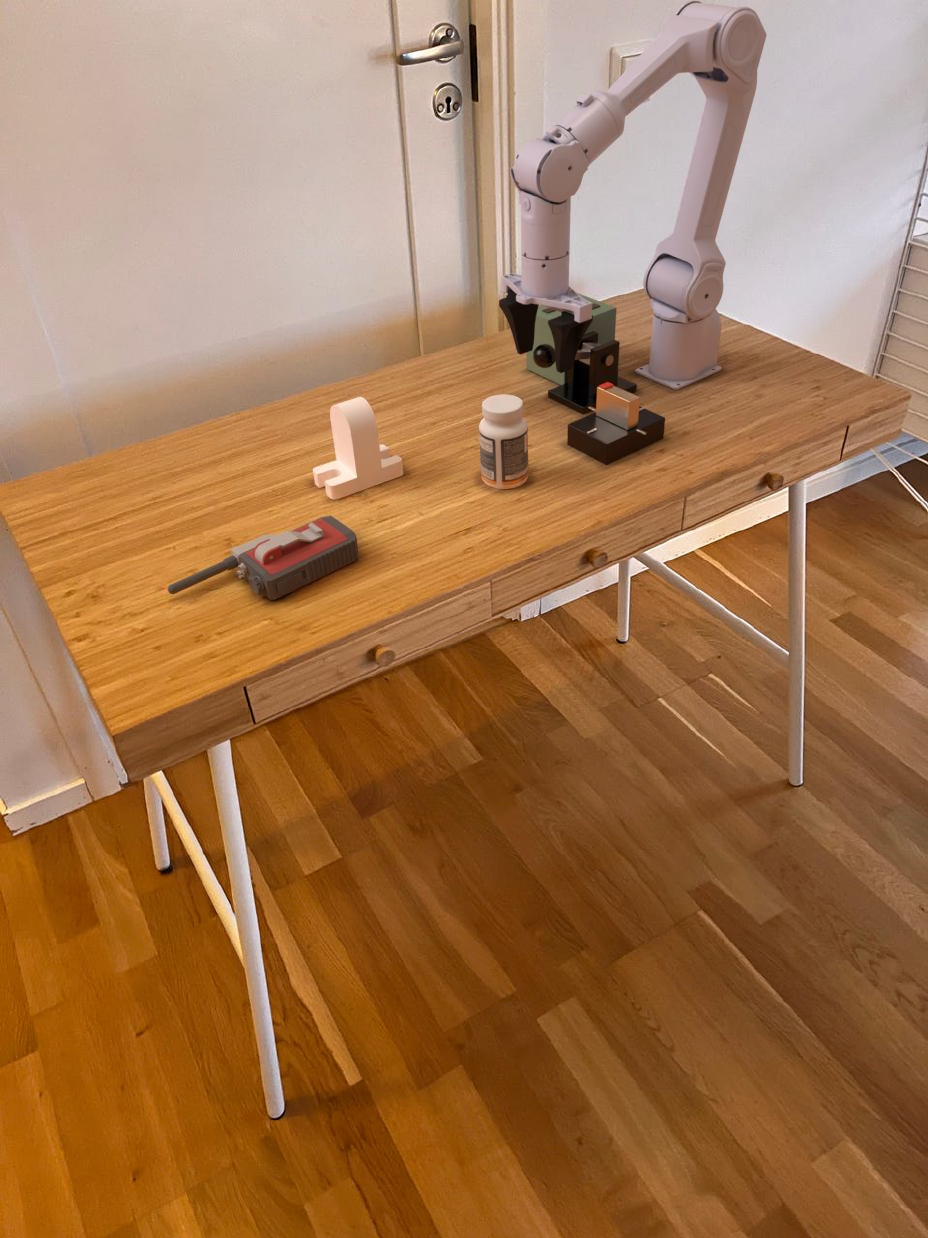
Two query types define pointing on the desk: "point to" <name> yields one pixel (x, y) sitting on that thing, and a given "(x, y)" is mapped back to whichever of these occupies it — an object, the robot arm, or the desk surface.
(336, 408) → the white phone stand
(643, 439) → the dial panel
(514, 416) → the pill bottle
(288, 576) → the walkie-talkie
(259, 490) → the desk surface
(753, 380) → the desk surface
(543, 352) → the lever
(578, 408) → the lever bracket
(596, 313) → the toaster
